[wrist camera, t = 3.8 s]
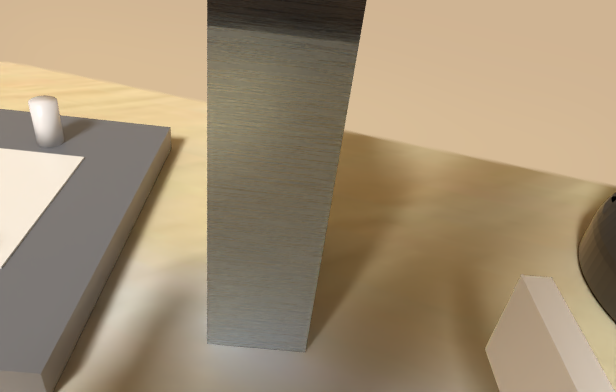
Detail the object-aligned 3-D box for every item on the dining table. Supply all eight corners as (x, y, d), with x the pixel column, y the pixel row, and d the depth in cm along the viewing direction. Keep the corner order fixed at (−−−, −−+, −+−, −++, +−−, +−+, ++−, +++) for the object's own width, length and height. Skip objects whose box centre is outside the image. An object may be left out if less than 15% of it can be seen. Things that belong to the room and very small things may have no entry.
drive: (308, 229, 27) (350, -54, 19) (305, 352, 21) (367, -4, 13) (234, 222, 27) (245, -68, 19) (207, 343, 20) (207, -24, 12)
